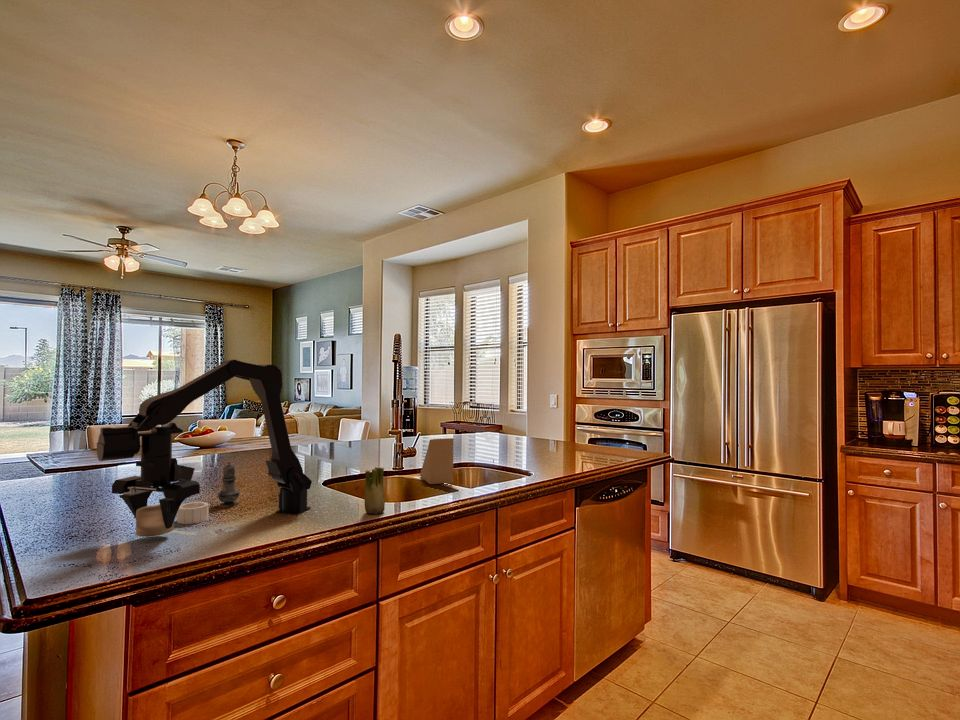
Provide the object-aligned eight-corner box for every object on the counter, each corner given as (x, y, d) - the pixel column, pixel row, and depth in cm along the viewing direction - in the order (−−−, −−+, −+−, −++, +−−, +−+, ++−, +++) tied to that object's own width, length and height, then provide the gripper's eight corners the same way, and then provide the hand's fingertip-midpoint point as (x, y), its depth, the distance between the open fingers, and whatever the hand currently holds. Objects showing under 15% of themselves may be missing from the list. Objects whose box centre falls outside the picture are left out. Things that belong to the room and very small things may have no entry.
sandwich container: (441, 473, 185) (442, 432, 185) (453, 482, 170) (454, 438, 171) (418, 475, 182) (419, 433, 182) (429, 484, 167) (429, 439, 168)
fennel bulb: (365, 517, 129) (365, 470, 130) (361, 512, 134) (362, 466, 134) (387, 514, 132) (387, 468, 132) (383, 509, 136) (383, 465, 136)
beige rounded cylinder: (181, 527, 112) (181, 505, 112) (153, 537, 106) (153, 514, 106) (156, 525, 114) (157, 503, 114) (127, 534, 108) (128, 511, 108)
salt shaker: (230, 508, 136) (231, 464, 136) (211, 507, 137) (212, 463, 138) (244, 503, 142) (245, 460, 142) (226, 501, 143) (227, 459, 143)
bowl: (214, 519, 127) (214, 503, 127) (192, 526, 120) (192, 510, 120) (193, 516, 129) (193, 501, 129) (170, 524, 122) (171, 507, 122)
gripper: (219, 451, 116) (218, 519, 115) (155, 447, 121) (154, 513, 120) (178, 459, 105) (177, 535, 105) (110, 455, 110) (109, 527, 110)
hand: (155, 526), depth 110 cm, fingers closed on beige rounded cylinder, 7 cm apart
